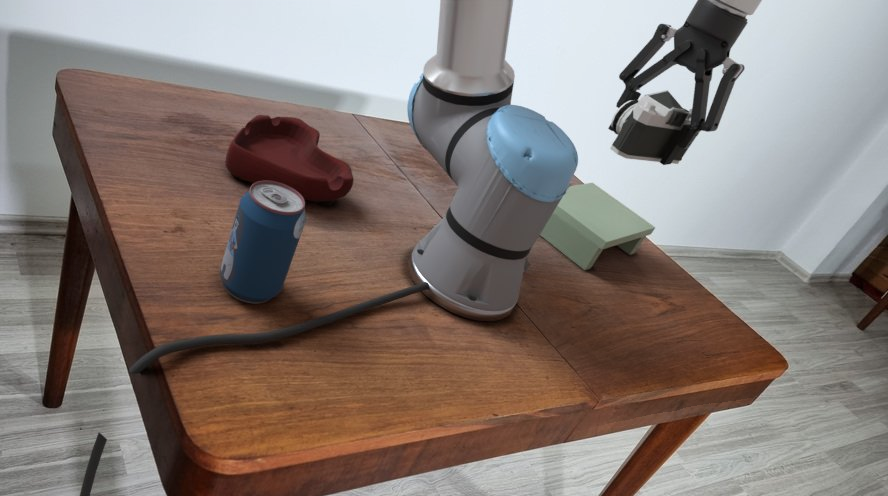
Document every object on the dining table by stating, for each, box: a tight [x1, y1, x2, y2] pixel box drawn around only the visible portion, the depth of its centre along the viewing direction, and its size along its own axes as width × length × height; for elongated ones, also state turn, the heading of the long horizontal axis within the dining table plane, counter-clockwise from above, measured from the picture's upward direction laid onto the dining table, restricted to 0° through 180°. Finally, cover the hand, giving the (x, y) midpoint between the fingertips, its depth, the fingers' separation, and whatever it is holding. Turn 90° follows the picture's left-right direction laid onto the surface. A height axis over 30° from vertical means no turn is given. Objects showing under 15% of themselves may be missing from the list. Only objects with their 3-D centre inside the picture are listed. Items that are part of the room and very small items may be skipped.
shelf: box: [539, 182, 656, 271], centre depth 119 cm, size 18×14×6 cm
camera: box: [610, 89, 700, 165], centre depth 109 cm, size 16×9×10 cm, turn 120°
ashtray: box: [224, 114, 355, 206], centre depth 98 cm, size 18×16×5 cm
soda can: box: [219, 181, 307, 305], centre depth 75 cm, size 7×7×12 cm
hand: (639, 146), depth 111 cm, fingers closed on camera, 9 cm apart
